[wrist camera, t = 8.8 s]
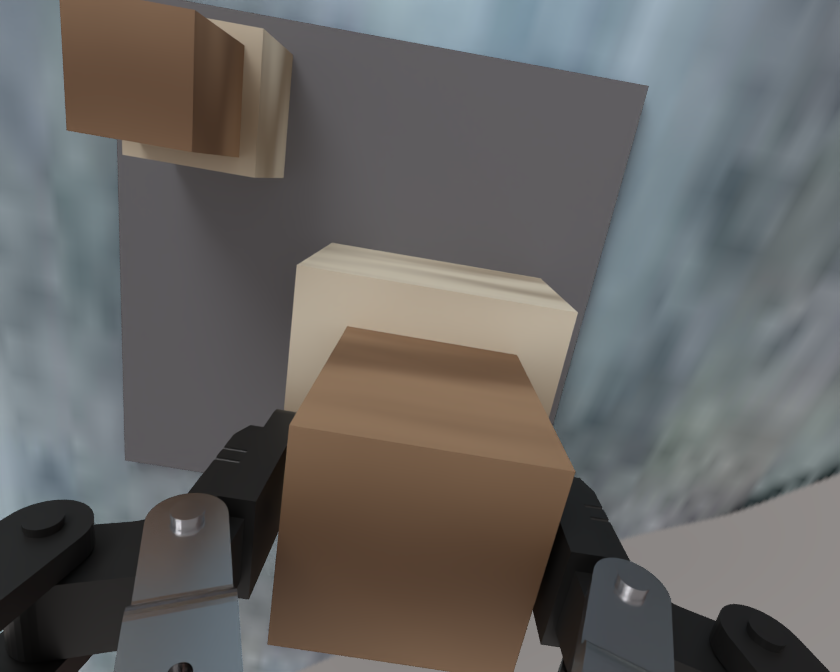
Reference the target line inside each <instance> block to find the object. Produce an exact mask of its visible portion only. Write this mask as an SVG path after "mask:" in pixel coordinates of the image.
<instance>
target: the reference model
mask: <svg viewBox="0 0 840 672" xmlns="http://www.w3.org/2000/svg"><path fill="white" fill-rule="evenodd" d="M60 17H61V35H62V54H63V72H64V90H65V109H66V127H67V130H68V131H74V132H79V133H85V134H91V135H96V136H102V137H108V138H113V139H119V140H122V155H127V156H133V157H139V158H144V159H150V160H156V161H161V162H167V163H173V164H179V165H184V166H190V167H196V168H202V169H207V170H213V171H219V172H224V173H230V174H236V175H242V176H247V177H253V178H284V166H285V153H286V140H287V127H288V113H289V100H290V87H291V74H292V61H293V54H291V53H290V52H289V51H288V50H287V49H286V48H285V47H284V46H282V45H281V44H280V43H279V42H278V41H277V40H276V39H275V38H274V37H272V36H271V35H270V34H269V33H268V32H267V31H266V30H265V29H263V28H258V27H253V26H247V25H242V24H236V23H231V22H225V21H220V20H214V19H209V18H205V17H204V16H203V15H201V14H200V13H198V12H197V11H196V10H192V9H187V8H182V7H176V6H171V5H165V4H160V3H154V2H149V1H143V0H60Z"/></svg>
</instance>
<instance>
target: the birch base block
mask: <svg viewBox="0 0 840 672" xmlns="http://www.w3.org/2000/svg"><path fill="white" fill-rule="evenodd" d="M577 314H578V312H577V311H576V310H575V309H574V308H572V307H571V306H570V305H569V304H568V303H567V302H566V301H565V300H564V299H563V298H562V297H560V296H559V295H558V294H557V293H556V292H555V291H554V290H553V289H552V288H551V287H549V286H548V285H547V284H546V283H545V282H544V281H543V280H542V279H541V278H536V277H530V276H524V275H518V274H512V273H507V272H501V271H495V270H489V269H483V268H477V267H472V266H466V265H460V264H454V263H448V262H442V261H436V260H431V259H425V258H419V257H413V256H407V255H401V254H395V253H390V252H384V251H378V250H372V249H366V248H360V247H354V246H349V245H343V244H337V243H331V244H329V245H328V246H326V247H324V248H323V249H321V250H320V251H318V252H317V253H315V254H313V255H312V256H310V257H309V258H307V259H305V260H304V261H302V262H301V263H299V264H297V268H296V279H295V291H294V302H293V313H292V325H291V336H290V347H289V359H288V370H287V381H286V393H285V404H284V410H286V411H293V412H297V411H298V409H299V408H300V406H301V404H302V403H303V401H304V399H305V397H306V396H307V394H308V392H309V391H310V389H311V387H312V385H313V384H314V382H315V380H316V379H317V377H318V375H319V374H320V372H321V370H322V368H323V367H324V365H325V363H326V362H327V360H328V358H329V356H330V355H331V353H332V351H333V350H334V348H335V346H336V345H337V343H338V341H339V339H340V338H341V336H342V334H343V333H344V331H345V329H346V327H347V326H350V327H355V328H361V329H367V330H373V331H379V332H385V333H391V334H397V335H403V336H408V337H414V338H420V339H426V340H432V341H438V342H444V343H450V344H456V345H462V346H467V347H473V348H479V349H485V350H491V351H497V352H503V353H509V354H514V355H517V356H518V358H519V360H520V362H521V364H522V366H523V368H524V370H525V372H526V374H527V376H528V378H529V380H530V382H531V384H532V386H533V388H534V390H535V392H536V394H537V396H538V398H539V400H540V402H541V404H542V406H543V408H544V410H545V412H546V414H547V416H548V418H549V415H550V412H551V408H552V404H553V401H554V397H555V394H556V390H557V386H558V383H559V379H560V376H561V372H562V368H563V365H564V361H565V358H566V354H567V350H568V347H569V343H570V340H571V336H572V332H573V329H574V325H575V322H576V318H577Z"/></svg>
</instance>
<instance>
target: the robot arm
mask: <svg viewBox="0 0 840 672" xmlns="http://www.w3.org/2000/svg"><path fill="white" fill-rule="evenodd" d="M296 413H297V412H293V411H286V410H280V409H276V410H275V411H274V412H273V414H272V415H271V417H270V418H269V420H268V421H267V422H266V424H265V425H264V427H261V426H254V425H249V426H248V427H246V428H244V429H242V430H240V431H239V432H237V433H235V434H234V435H233V436H232V437H231V438H230V440H229V441H228V442H227V443H226V445H225V446H224V449H222V450H221V451H220V452H219V454H218V455H217V456H216V459H214V460H213V461H212V463H211V464H210V465H209V467H208V468H207V469H206V470H205V472H204V473H203V474H202V476H201V477H200V478H199V479H198V481H197V482H196V483H195V485H194V486H193V487H192V488H191V490H190V491H189V492H188V494H182V495H177V496H174V497H171V498H168V499H166V500H164V501H162V502H161V503H159V504H157V505H156V506H155V507H154V508H152V509H151V511H150V512H149V513H148V514H147V516H146V518H145V520H140V521H133V522H122V523H109V524H95V525H94V513H93V511H92V509H91V508H90V507H89V506H87V505H86V504H84V503H81V502H78V501H74V500H52V501H46V502H41V503H37V504H33V505H30V506H27V507H25V508H22V509H20V510H18V511H16V512H14V513H12V514H11V515H9V516H7V517H6V518H4V519H2V520H1V521H0V631H2V630H4V631H3V632H2V633H1V634H0V672H78V671H79V670H80V668H81V667H82V666H83V665H84V664H85V663H86V662H87V661H88V660H89V658H90V657H91V656H92V655H93V654H99V653H105V652H112V651H117V655H116V660H115V666H114V672H243V662H242V648H241V634H240V620H239V606H238V598H242V599H249V598H250V595H251V593H252V591H253V588H254V586H255V584H256V582H257V579H258V577H259V575H260V572H261V570H262V568H263V566H264V563H265V561H266V559H267V556H268V554H269V552H270V550H271V547H272V545H273V543H274V540H275V538H276V536H277V533H278V531H279V523H280V513H281V503H282V493H283V483H284V473H285V463H286V453H287V443H288V433H289V425H290V423H291V421H292V420H293V418H294V416H295V414H296ZM533 613H534V617H535V621H536V626H537V630H538V634H539V639H540V643H541V644H542V645H548V646H555V647H560V648H561V652H562V655H563V658H562V661H561V664H560V667H559V670H558V672H829V670H828V669H827V668H826V667H825V666H824V665H823V664H822V663H821V662H820V661H819V660H818V659H817V658H816V657H815V656H814V655H813V653H812V652H811V651H810V650H809V649H808V648H806V646H805V645H804V644H803V643H802V642H801V641H800V640H799V639H798V638H797V637H796V636H795V635H794V634H793V633H792V632H791V631H790V630H789V629H787V628H786V627H785V626H784V625H782V624H781V623H780V622H778V621H777V620H775V619H774V618H772V617H770V616H769V615H767V614H765V613H763V612H761V611H759V610H756V609H754V608H751V607H748V606H744V605H738V604H730V605H727V606H725V607H723V608H722V610H721V611H720V613H719V615H718V618H717V620H716V621H714V620H712V619H709V618H706V617H704V616H702V615H699V614H696V613H694V612H692V611H689V610H686V609H684V608H682V607H679V606H677V605H675V604H673V603H671V598H670V596H669V593H668V591H667V590H666V588H665V587H664V586H663V584H662V583H661V582H660V581H659V580H658V579H657V578H656V577H655V576H654V575H653V574H652V573H650V572H649V571H647V570H646V569H644V568H643V567H641V566H639V565H637V564H635V563H633V562H630V560H629V558H628V556H627V554H626V552H625V550H624V549H623V546H622V545H621V543H620V541H619V539H618V537H617V535H616V533H615V531H614V529H613V527H612V525H611V523H610V522H608V518H607V516H606V514H605V512H604V510H602V506H601V504H600V502H599V500H598V498H597V496H596V494H595V492H594V491H593V490H592V489H591V488H589V487H588V486H587V485H586V484H585V483H584V482H583V481H582V480H581V479H580V478H576V477H574V478H573V481H572V484H571V488H570V491H569V494H568V497H567V500H566V504H565V507H564V510H563V513H562V517H561V520H560V523H559V526H558V530H557V533H556V536H555V539H554V542H553V546H552V549H551V552H550V555H549V559H548V562H547V565H546V568H545V572H544V575H543V578H542V581H541V584H540V588H539V591H538V594H537V597H536V601H535V604H534V607H533Z"/></svg>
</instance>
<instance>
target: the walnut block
mask: <svg viewBox="0 0 840 672" xmlns="http://www.w3.org/2000/svg"><path fill="white" fill-rule="evenodd" d="M574 475H575V470H574V468H573V466H572V464H571V462H570V460H569V458H568V456H567V454H566V452H565V450H564V448H563V446H562V444H561V442H560V440H559V438H558V436H557V434H556V432H555V430H554V428H553V426H552V424H551V422H550V420H549V418H548V416H547V414H546V412H545V410H544V408H543V406H542V404H541V402H540V400H539V398H538V396H537V394H536V392H535V390H534V388H533V386H532V384H531V382H530V380H529V378H528V376H527V374H526V372H525V370H524V368H523V366H522V364H521V362H520V360H519V358H518V356H517V355H514V354H509V353H503V352H497V351H491V350H485V349H479V348H473V347H467V346H462V345H456V344H450V343H444V342H438V341H432V340H426V339H420V338H414V337H408V336H403V335H397V334H391V333H385V332H379V331H373V330H367V329H361V328H355V327H350V326H347V327H346V329H345V331H344V333H343V334H342V336H341V338H340V339H339V341H338V343H337V345H336V346H335V348H334V350H333V351H332V353H331V355H330V356H329V358H328V360H327V362H326V363H325V365H324V367H323V368H322V370H321V372H320V374H319V375H318V377H317V379H316V380H315V382H314V384H313V385H312V387H311V389H310V391H309V392H308V394H307V396H306V397H305V399H304V401H303V403H302V404H301V406H300V408H299V409H298V411H297V413H296V414H295V416H294V418H293V420H292V421H291V423H290V425H289V433H288V443H287V453H286V463H285V473H284V483H283V493H282V503H281V513H280V523H279V533H278V544H277V554H276V564H275V574H274V584H273V594H272V604H271V614H270V624H269V634H268V645H274V646H281V647H288V648H294V649H301V650H308V651H314V652H321V653H328V654H335V655H341V656H348V657H355V658H362V659H368V660H376V661H382V662H388V663H395V664H402V665H409V666H415V667H422V668H429V669H435V670H443V671H449V672H514V668H515V665H516V662H517V659H518V656H519V652H520V649H521V646H522V642H523V639H524V636H525V633H526V630H527V626H528V623H529V620H530V617H531V614H532V610H533V607H534V604H535V601H536V597H537V594H538V591H539V588H540V584H541V581H542V578H543V575H544V572H545V568H546V565H547V562H548V559H549V555H550V552H551V549H552V546H553V542H554V539H555V536H556V533H557V530H558V526H559V523H560V520H561V517H562V513H563V510H564V507H565V504H566V500H567V497H568V494H569V491H570V488H571V484H572V481H573V478H574Z"/></svg>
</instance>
